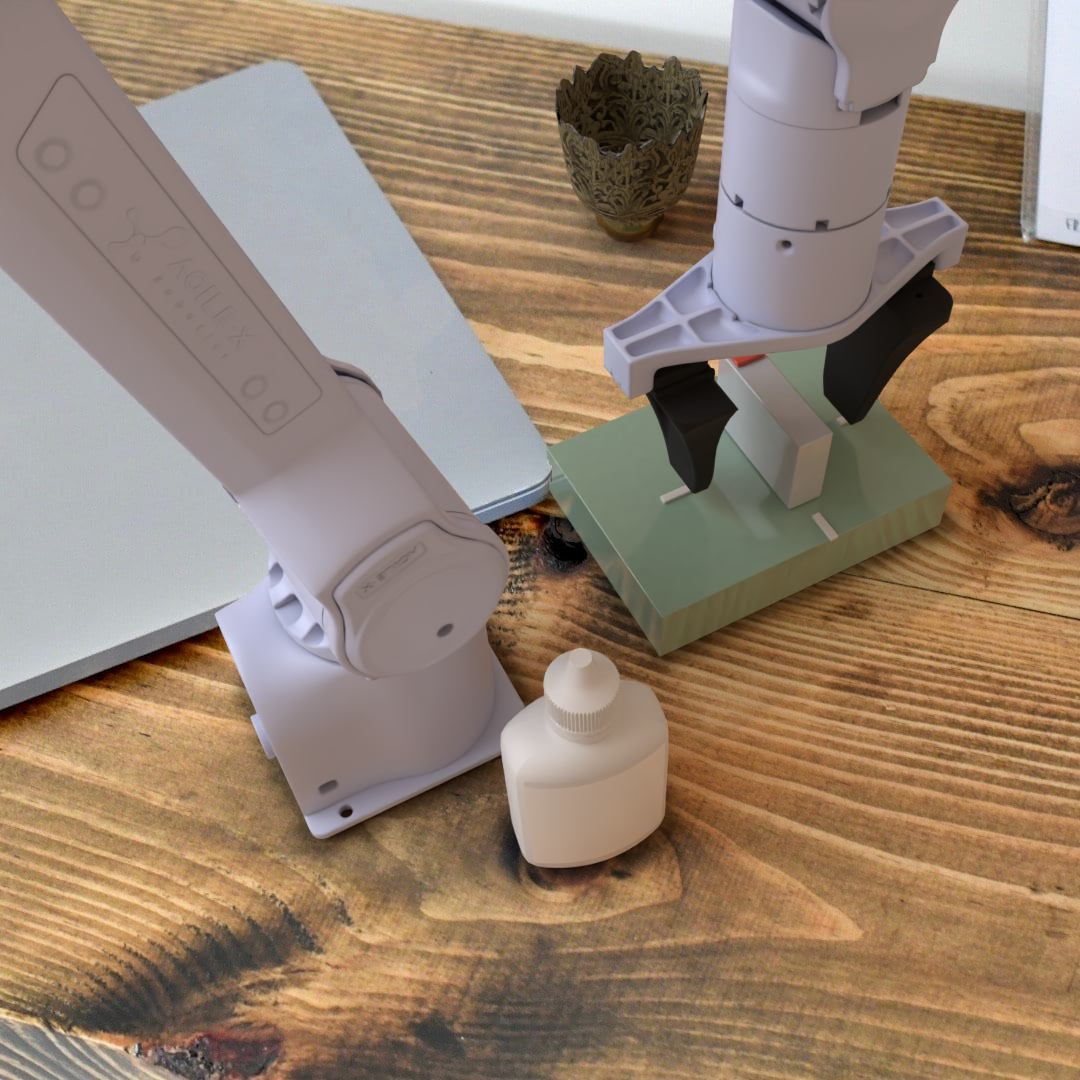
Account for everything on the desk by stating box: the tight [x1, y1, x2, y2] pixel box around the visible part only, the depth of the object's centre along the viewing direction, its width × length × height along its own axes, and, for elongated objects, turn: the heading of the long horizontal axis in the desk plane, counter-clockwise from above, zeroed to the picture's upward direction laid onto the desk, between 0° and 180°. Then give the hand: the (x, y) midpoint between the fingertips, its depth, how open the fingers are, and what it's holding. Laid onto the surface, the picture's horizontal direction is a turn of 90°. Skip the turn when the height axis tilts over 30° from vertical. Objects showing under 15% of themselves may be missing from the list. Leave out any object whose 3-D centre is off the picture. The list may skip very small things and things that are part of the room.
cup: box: [554, 49, 709, 242], centre depth 66 cm, size 8×7×8 cm
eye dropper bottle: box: [501, 647, 670, 869], centre depth 45 cm, size 4×6×12 cm
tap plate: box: [545, 345, 954, 657], centre depth 57 cm, size 14×10×3 cm
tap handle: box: [717, 354, 833, 509], centre depth 54 cm, size 6×2×4 cm, turn 26°
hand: (767, 440), depth 55 cm, fingers open, 7 cm apart
